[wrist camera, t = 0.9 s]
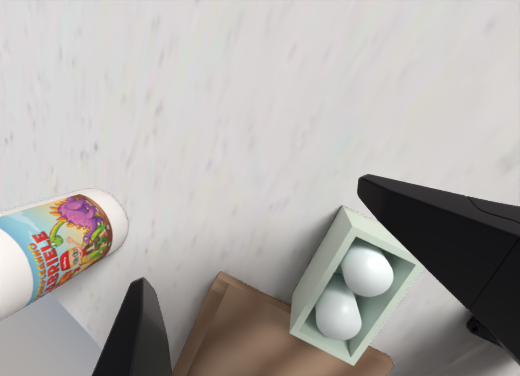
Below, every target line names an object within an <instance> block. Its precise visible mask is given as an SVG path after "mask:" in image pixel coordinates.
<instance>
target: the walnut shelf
mask: <svg viewBox="0 0 520 376" xmlns="http://www.w3.org/2000/svg"><path fill="white" fill-rule="evenodd" d="M290 318H291V306H289V305H287V304H285V303H283V302H281V301H279V300H277V299H275V298H273V297H271V296H269V295H267V294H265V293H263V292H261V291H259V290H257V289H255V288H253V287H251V286H249V285H247V284H245V283H243V282H241V281H239V280H237V279H235V278H233V277H231V276H229V275H227V274H225V273H223V272H221V271H220V273H219V274H218V276H217V278H216V279H215V281H214V283H213V284H212V286H211V288H210V290H209V292H208V294H207V296H206V299H205V301H204V303H203V305H202V308H201V310H200V312H199V314H198V317H197V319H196V321H195V323H194V326H193V328H192V330H191V332H190V335H189V337H188V339H187V341H186V344H185V346H184V348H183V350H182V352H181V355H180V357H179V359H178V361H177V364H176V366H175V368H174V370H173V373H172V376H387V375H388V373H389V372H390V371H391V370H392V368H393V367H394V366H393V363H392V360H391V357H390V356H388V355H386V354H384V353H382V352H380V351H378V350H376V349H374V348H372V347H370V346H368V347H367V348H366V350H365V351H364V352H363V354H362V355H361V357H360V358H359V359H358V361H357V362H356V364H355V365H354V366H353V365H351V364H349V363H347V362H345V361H343V360H341V359H339V358H337V357H335V356H333V355H331V354H329V353H327V352H325V351H323V350H321V349H319V348H318V347H316V346H314V345H312V344H310V343H308V342H306V341H304V340H302V339H300V338H298V337H296V336H294V335H292V334H290V333H289V330H290Z"/></svg>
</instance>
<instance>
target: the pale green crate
mask: <svg viewBox="0 0 520 376" xmlns="http://www.w3.org/2000/svg"><path fill="white" fill-rule="evenodd" d="M424 268H425V267H424V266H423V265H422V264H421V263H420V262H419V261H418V260H417V259H416V258H415V257H414V256H413V255H412V254H411V253H410V252H409V251H408V250H407V249H406V248H405V247H404V246H403V245H402V244H401V243H400V242H399V241H398V240H397V239H396V238H395V237H394V236H393V235H392V234H391V233H390V232H389V231H388V230H387V229H386V228H385V227H384V226H383V225H382V224H381V223H380V222H378V221H375V220H373V219H371V218H369V217H367V216H365V215H363V214H360V213H358V212H356V211H354V210H352V209H350V208H348V207H345V206H343V205H342V207H341V208H340V210H339V212H338V214H337V215H336V217H335V219H334V221H333V223H332V224H331V226H330V228H329V230H328V231H327V233H326V235H325V237H324V239H323V240H322V242H321V244H320V246H319V247H318V249H317V251H316V253H315V255H314V256H313V258H312V260H311V262H310V263H309V265H308V267H307V269H306V271H305V272H304V274H303V276H302V278H301V279H300V281H299V283H298V285H297V287H296V288H295V290H294V292H293V294H292V305H291V318H290V330H289V333H290V334H292V335H294V336H296V337H298V338H300V339H302V340H304V341H306V342H308V343H310V344H312V345H314V346H316V347H318V348H319V349H321V350H323V351H325V352H327V353H329V354H331V355H333V356H335V357H337V358H339V359H341V360H343V361H345V362H347V363H349V364H351V365H353V366H354V365H355V364H356V362H357V361H358V359H359V358H360V357H361V355H362V354H363V352H364V351H365V350H366V348H367V347H368V345H369V344H370V343H371V341H372V340H373V339H374V337H375V336H376V334H377V333H378V332H379V330H380V329H381V327H382V326H383V325H384V323H385V322H386V320H387V319H388V318H389V316H390V315H391V313H392V312H393V311H394V309H395V308H396V307H397V305H398V304H399V302H400V301H401V300H402V298H403V297H404V295H405V294H406V293H407V291H408V290H409V288H410V287H411V286H412V284H413V283H414V281H415V280H416V279H417V277H418V276H419V274H420V273H421V272H422V270H423V269H424Z"/></svg>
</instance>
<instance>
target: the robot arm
mask: <svg viewBox="0 0 520 376" xmlns="http://www.w3.org/2000/svg"><path fill="white" fill-rule="evenodd" d="M357 194H358V196H359V198H360V199H361V201H362V202H363V203H364V204H365V205H366V207H367V208H368V209H369V210H370V211H371V213H372V214H373V215H374V216H375V217H376V219H377V220H378V221H379V222H380V223H381V224H382V225H383V226H384V227H385V228H386V229H387V230H388V231H389V232H390V233H391V234H392V235H393V236H394V237H395V238H396V239H397V240H398V241H399V242H400V243H401V244H402V245H403V246H404V247H405V248H406V249H407V250H408V251H409V252H410V253H411V254H412V255H413V256H414V257H415V258H416V259H417V260H418V261H419V262H420V263H421V264H422V265H423V266H424V267H425V268H426V269H427V270H428V271H429V272H430V273H431V274H432V275H433V276H434V277H435V278H436V279H437V280H438V281H439V282H440V283H441V284H442V285H443V286H444V287H445V288H446V289H447V290H448V291H450V292H451V293H452V294H453V295H454V296H455V297H456V298H457V299H458V300H459V301H460V302H461V303H462V304H463V305H464V306H465V307H466V308H467V309H468V310H469V311H470V312H471V313H472V314H473V315H474V317H473V318H472V319H471V320H470V321H469V323H468V324H467V328H468V329H469V331H470V332H471V333H473V334H475V335H477V336H479V337H481V338H484V339H486V340H488V341H490V342H492V343H494V344H496V345H498V346H500V347H502V348H504V349H505V350H506V351H507V352H508V354H509V355H510V356H511V357H512V358H513V359H514V360H515V361H516V362H517V363H518V365H519V366H520V206H514V205H508V204H503V203H497V202H492V201H487V200H483V199H478V198H474V197H469V196H467V197H466V196H464V195H460V194H456V193H451V192H447V191H442V190H438V189H433V188H429V187H424V186H420V185H415V184H411V183H406V182H402V181H398V180H393V179H389V178H384V177H380V176H375V175H371V174H366V175H364V176H362V177H360V178H359V179H358V188H357ZM473 327H475V328H473ZM92 376H172V369H171V361H170V353H169V345H168V339H167V334H166V329H165V325H164V321H163V318H162V314H161V310H160V306H159V302H158V298H157V294H156V292H155V290H154V288H153V287H152V286H151V285H150V283H149V282H148V281H147V280H146V279H145V278H144V277H142V278H140V279H137V280H135V281H133V282H132V283H131V284H130V286H129V289H128V291H127V293H126V296H125V298H124V300H123V303H122V305H121V308H120V310H119V312H118V315H117V317H116V319H115V322H114V324H113V326H112V329H111V331H110V334H109V336H108V338H107V341H106V343H105V345H104V348H103V350H102V353H101V355H100V358H99V360H98V362H97V364H96V367H95V369H94V372H93V374H92Z"/></svg>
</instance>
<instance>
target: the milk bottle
mask: <svg viewBox="0 0 520 376" xmlns="http://www.w3.org/2000/svg"><path fill="white" fill-rule="evenodd" d="M127 233H128V218H127V215H126V212H125V210H124V208H123V206H122V205H121V204H120V202H119V201H118V200H117V199H116V198H115V197H114V196H112V195H111V194H109V193H107V192H105V191H103V190H98V189H93V188H88V189H82V190H78V191H74V192H70V193H67V194H63V195H59V196H55V197H52V198H48V199H44V200H41V201H37V202H33V203H30V204H26V205H22V206H19V207H15V208H12V209H8V210H4V211H1V212H0V320H2V319H4V318H6V317H8V316H10V315H12V314H14V313H15V312H17V311H19V310H20V309H22V308H24V307H26V306H27V305H29V304H30V303H32V302H34V301H36V300H37V299H39V298H41V297H42V296H44V295H45V294H47V293H48V292H50V291H52V290H53V289H55V288H57V287H58V286H60V285H61V284H63V283H65V282H66V281H68V280H69V279H71V278H73V277H74V276H76V275H77V274H79V273H80V272H82V271H84V270H85V269H87V268H88V267H90V266H92V265H93V264H95V263H96V262H98V261H99V260H101V259H102V258H104V257H106V256H107V255H109V254H110V253H112V252H113V251H115V250H116V249H118V248H119V247H120V246H121V245H122V244H123V242H124V240H125V238H126V236H127Z"/></svg>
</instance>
